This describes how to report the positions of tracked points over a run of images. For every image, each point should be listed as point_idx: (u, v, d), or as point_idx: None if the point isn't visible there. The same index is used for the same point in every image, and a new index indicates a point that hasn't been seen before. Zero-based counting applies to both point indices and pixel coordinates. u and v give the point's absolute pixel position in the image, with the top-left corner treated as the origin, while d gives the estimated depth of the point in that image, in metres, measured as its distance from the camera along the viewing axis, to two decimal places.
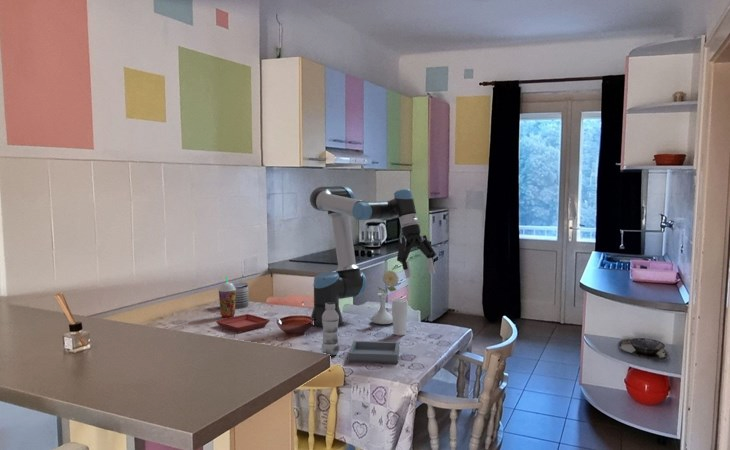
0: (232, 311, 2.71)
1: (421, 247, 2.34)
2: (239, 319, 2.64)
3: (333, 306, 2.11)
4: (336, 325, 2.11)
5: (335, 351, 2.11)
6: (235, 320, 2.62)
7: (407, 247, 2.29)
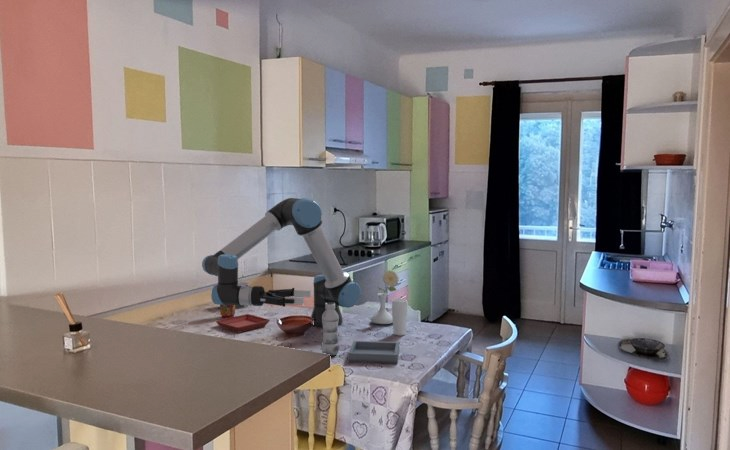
0: (232, 311, 2.71)
1: None
2: (239, 319, 2.64)
3: (333, 306, 2.11)
4: (336, 325, 2.11)
5: (335, 351, 2.11)
6: (235, 320, 2.62)
7: None
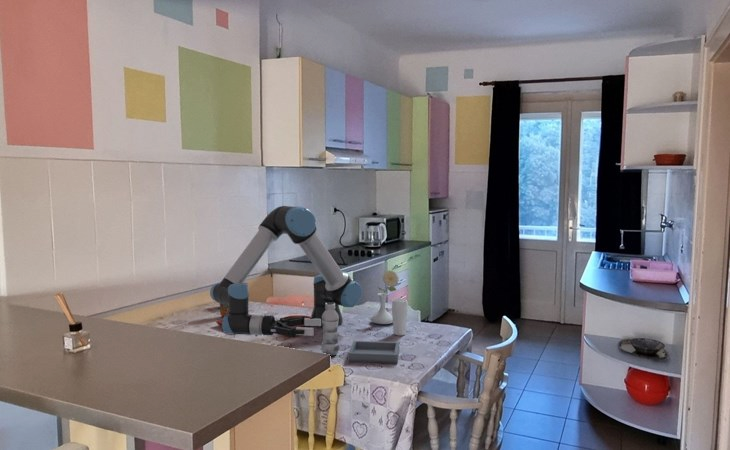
0: None
1: None
2: None
3: (333, 306, 2.11)
4: (336, 325, 2.11)
5: (335, 351, 2.11)
6: None
7: None
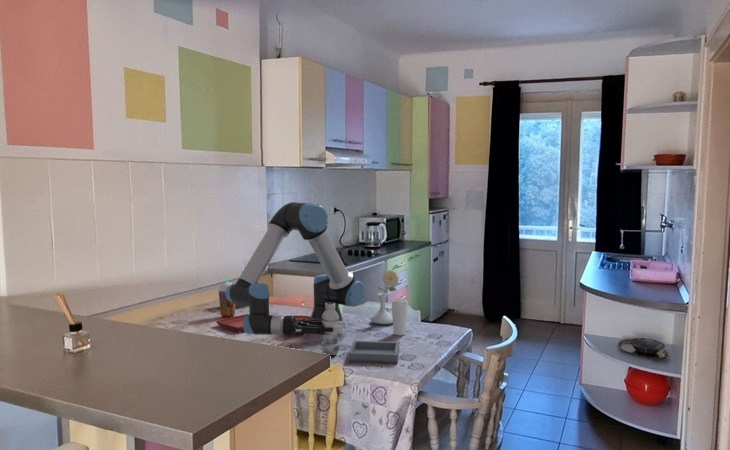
0: (232, 311, 2.71)
1: None
2: (239, 319, 2.64)
3: (333, 306, 2.11)
4: (336, 325, 2.11)
5: (335, 351, 2.11)
6: (235, 320, 2.62)
7: None
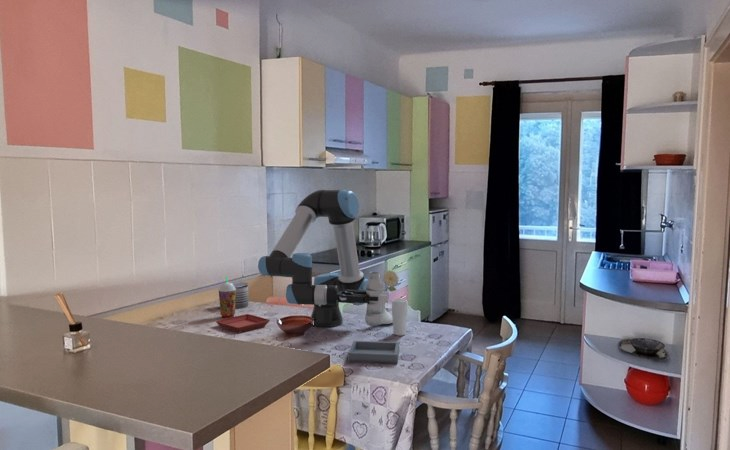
0: (232, 311, 2.71)
1: None
2: (239, 319, 2.64)
3: (378, 275, 2.08)
4: None
5: (379, 321, 2.08)
6: (235, 320, 2.62)
7: None
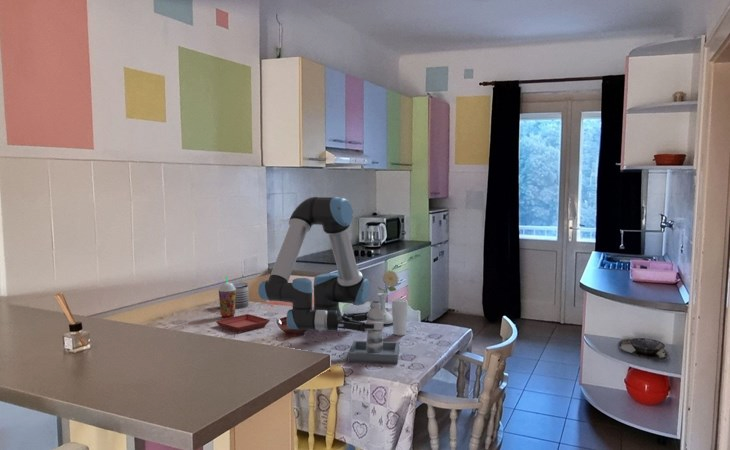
0: (232, 311, 2.71)
1: None
2: (239, 319, 2.64)
3: (378, 305, 2.09)
4: None
5: (380, 350, 2.09)
6: (235, 320, 2.62)
7: None
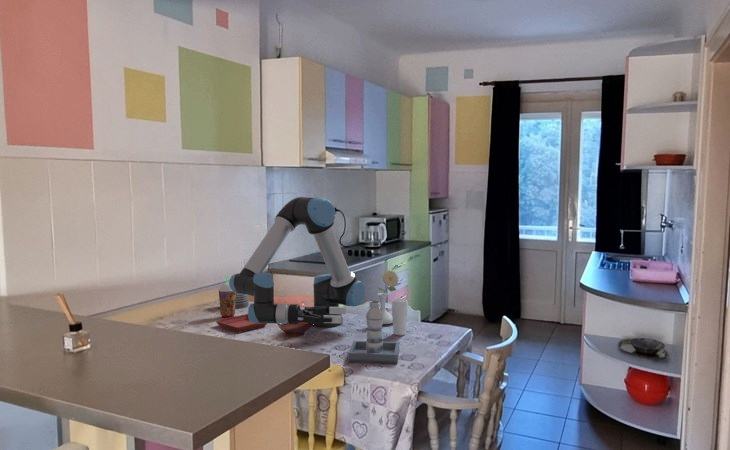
0: (232, 311, 2.71)
1: None
2: (239, 319, 2.64)
3: (378, 304, 2.09)
4: (381, 324, 2.09)
5: (380, 350, 2.09)
6: (235, 320, 2.62)
7: None
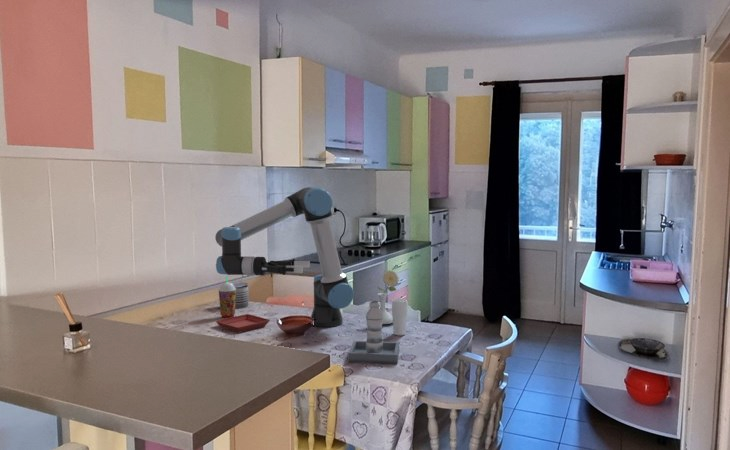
0: (232, 311, 2.71)
1: None
2: (239, 319, 2.64)
3: (378, 304, 2.09)
4: (381, 324, 2.09)
5: (380, 350, 2.09)
6: (235, 320, 2.62)
7: None
